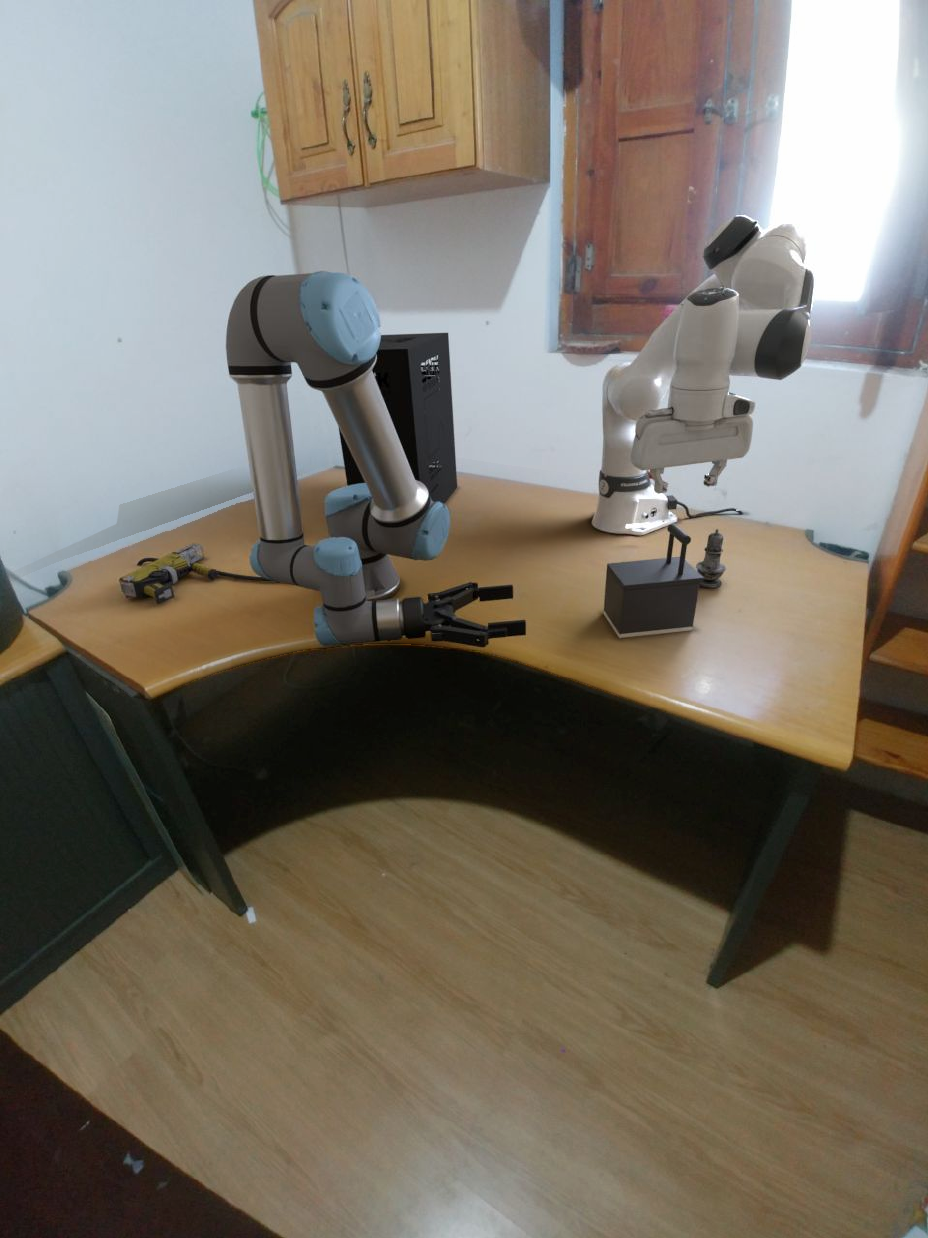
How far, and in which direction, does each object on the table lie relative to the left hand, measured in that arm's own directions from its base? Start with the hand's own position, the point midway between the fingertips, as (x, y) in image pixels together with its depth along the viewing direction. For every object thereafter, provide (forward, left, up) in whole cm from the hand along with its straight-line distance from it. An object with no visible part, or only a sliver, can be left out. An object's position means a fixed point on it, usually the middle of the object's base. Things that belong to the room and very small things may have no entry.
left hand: (519, 608), depth 110 cm
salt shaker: (+34, +31, -6) cm, 46 cm away
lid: (+23, +12, +4) cm, 26 cm away
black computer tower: (-49, +64, -6) cm, 81 cm away
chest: (+22, +11, -6) cm, 26 cm away
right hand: (+26, +13, +20) cm, 35 cm away
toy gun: (-83, +6, -6) cm, 83 cm away
